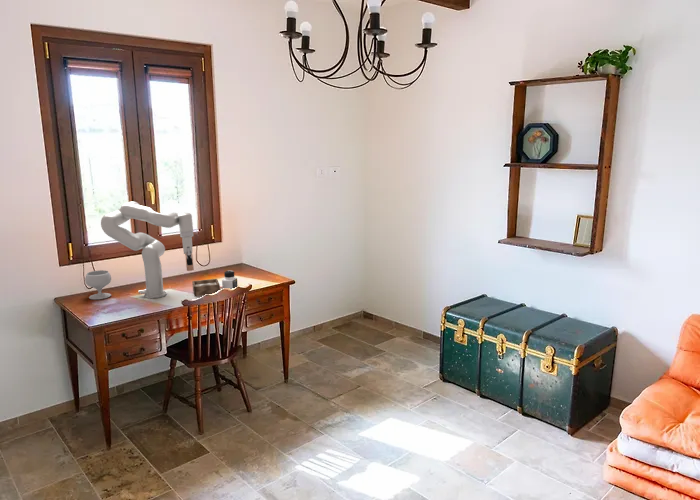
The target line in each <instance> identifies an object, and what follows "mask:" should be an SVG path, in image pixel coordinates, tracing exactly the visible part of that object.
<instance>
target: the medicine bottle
mask: <svg viewBox="0 0 700 500" xmlns="http://www.w3.org/2000/svg"><path fill="white" fill-rule="evenodd" d="M223 274H224V278H223V279H221V284H222V287H221V289H223V288H230V289H232V288H235V287H237V286H239V284H238V278H237V277H235V271H234V270H226V271H224V273H223Z"/></svg>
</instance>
